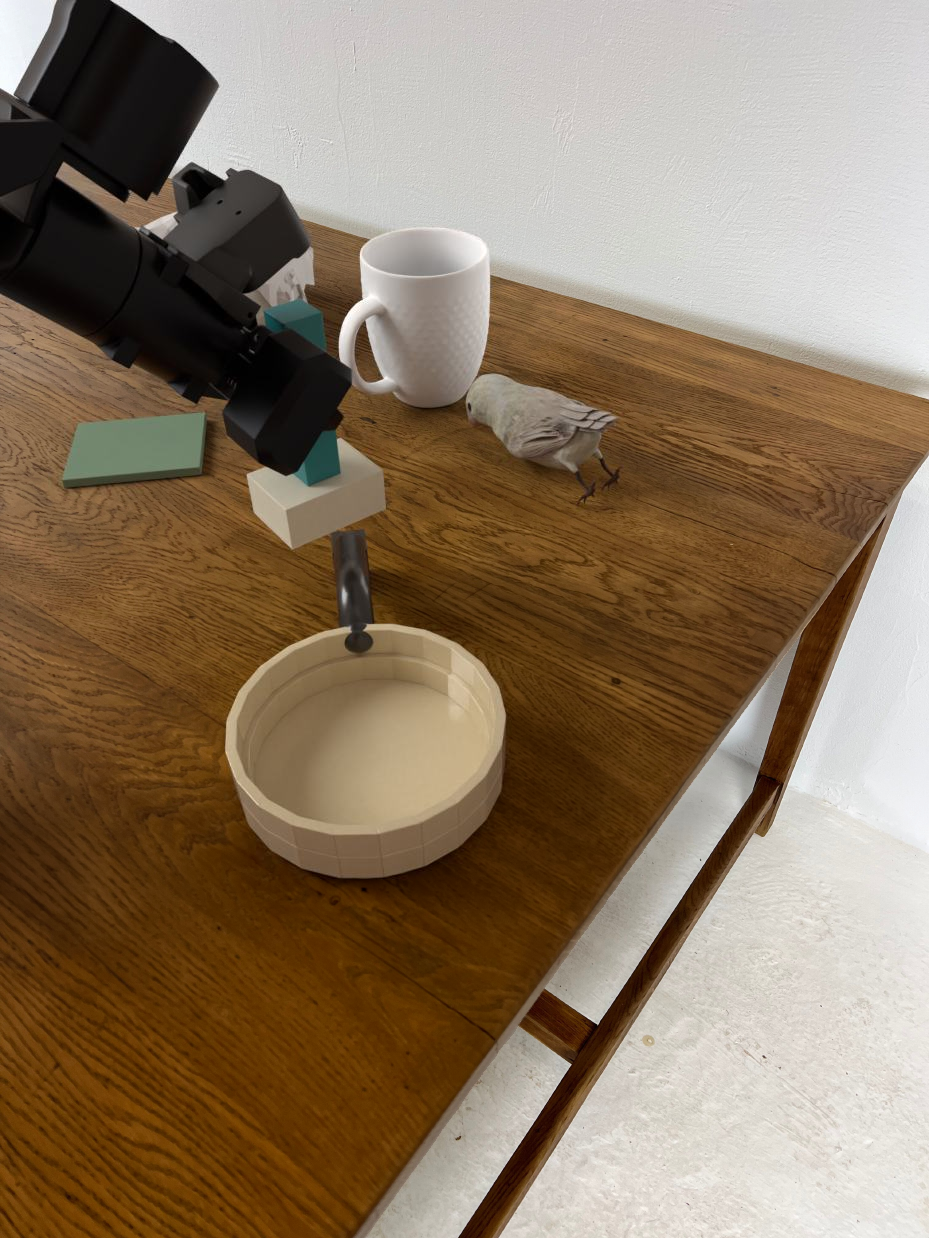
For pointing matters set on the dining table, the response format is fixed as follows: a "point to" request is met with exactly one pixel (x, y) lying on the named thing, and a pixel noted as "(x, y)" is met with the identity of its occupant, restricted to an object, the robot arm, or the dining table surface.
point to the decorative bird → (540, 424)
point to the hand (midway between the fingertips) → (326, 413)
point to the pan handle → (353, 587)
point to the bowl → (277, 288)
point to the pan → (367, 751)
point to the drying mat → (136, 450)
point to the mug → (422, 314)
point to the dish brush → (315, 465)
